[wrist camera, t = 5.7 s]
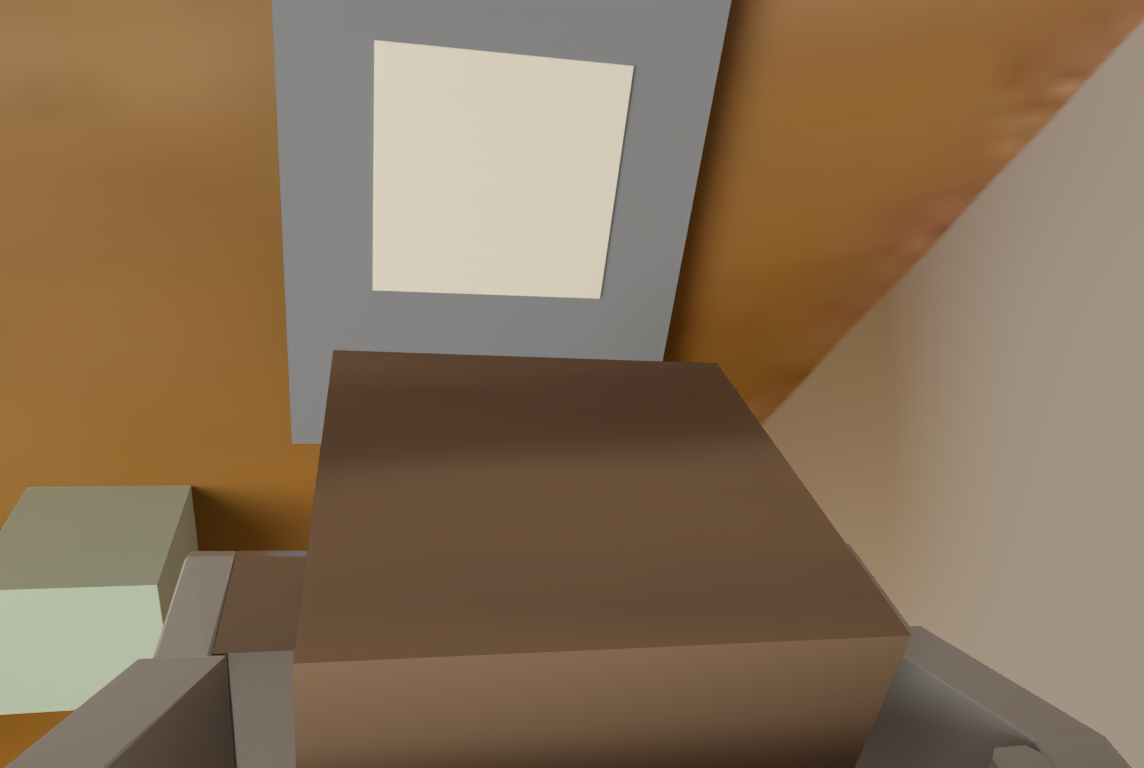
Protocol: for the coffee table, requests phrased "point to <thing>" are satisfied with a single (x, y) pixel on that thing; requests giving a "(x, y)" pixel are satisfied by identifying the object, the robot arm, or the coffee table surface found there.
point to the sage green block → (86, 587)
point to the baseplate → (485, 176)
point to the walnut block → (573, 576)
